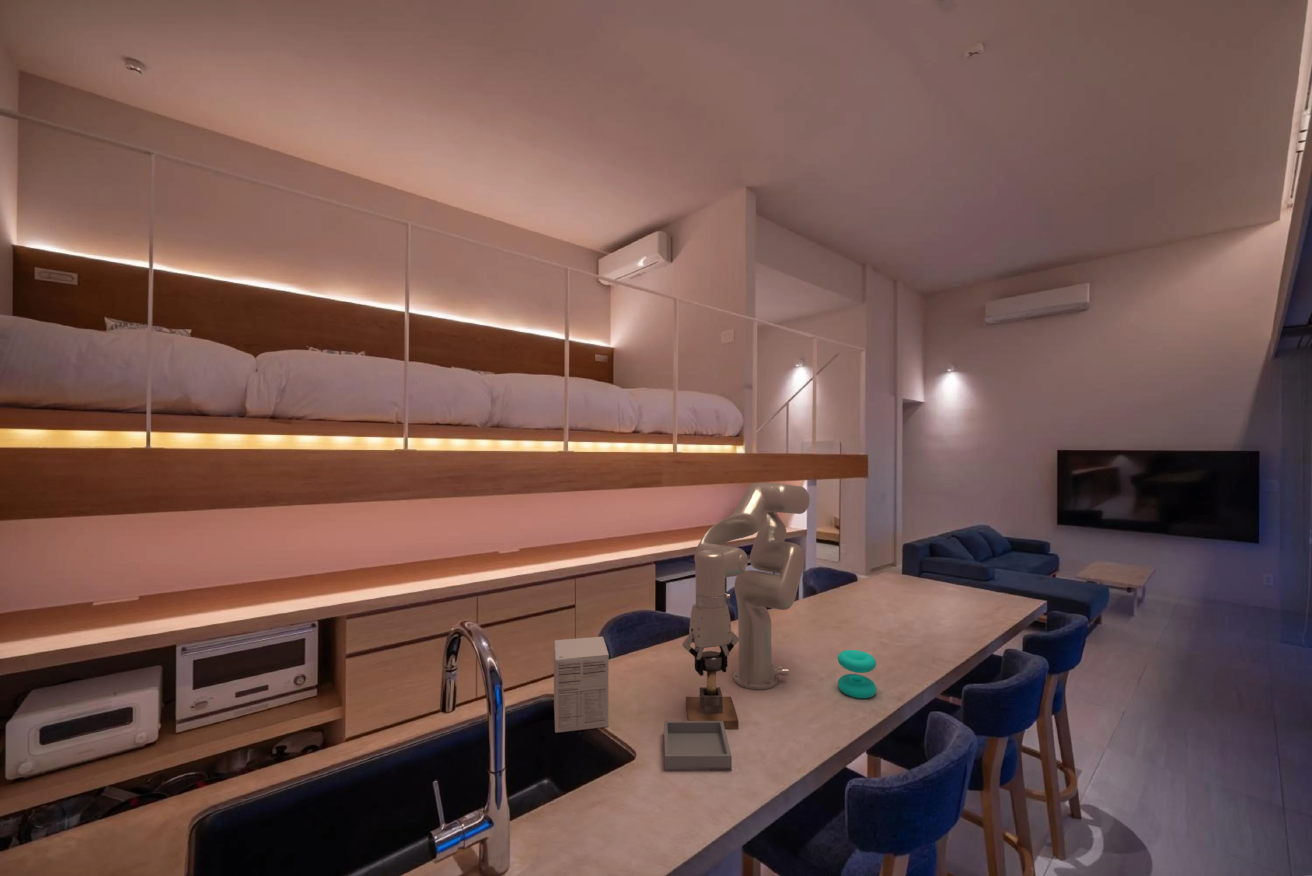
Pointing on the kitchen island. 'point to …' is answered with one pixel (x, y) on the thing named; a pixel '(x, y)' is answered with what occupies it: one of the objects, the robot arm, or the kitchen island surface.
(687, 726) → the tray
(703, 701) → the eye block
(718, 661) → the tan peg with head
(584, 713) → the supplement box
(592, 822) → the kitchen island surface
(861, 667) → the donuts
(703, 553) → the robot arm
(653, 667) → the kitchen island surface
